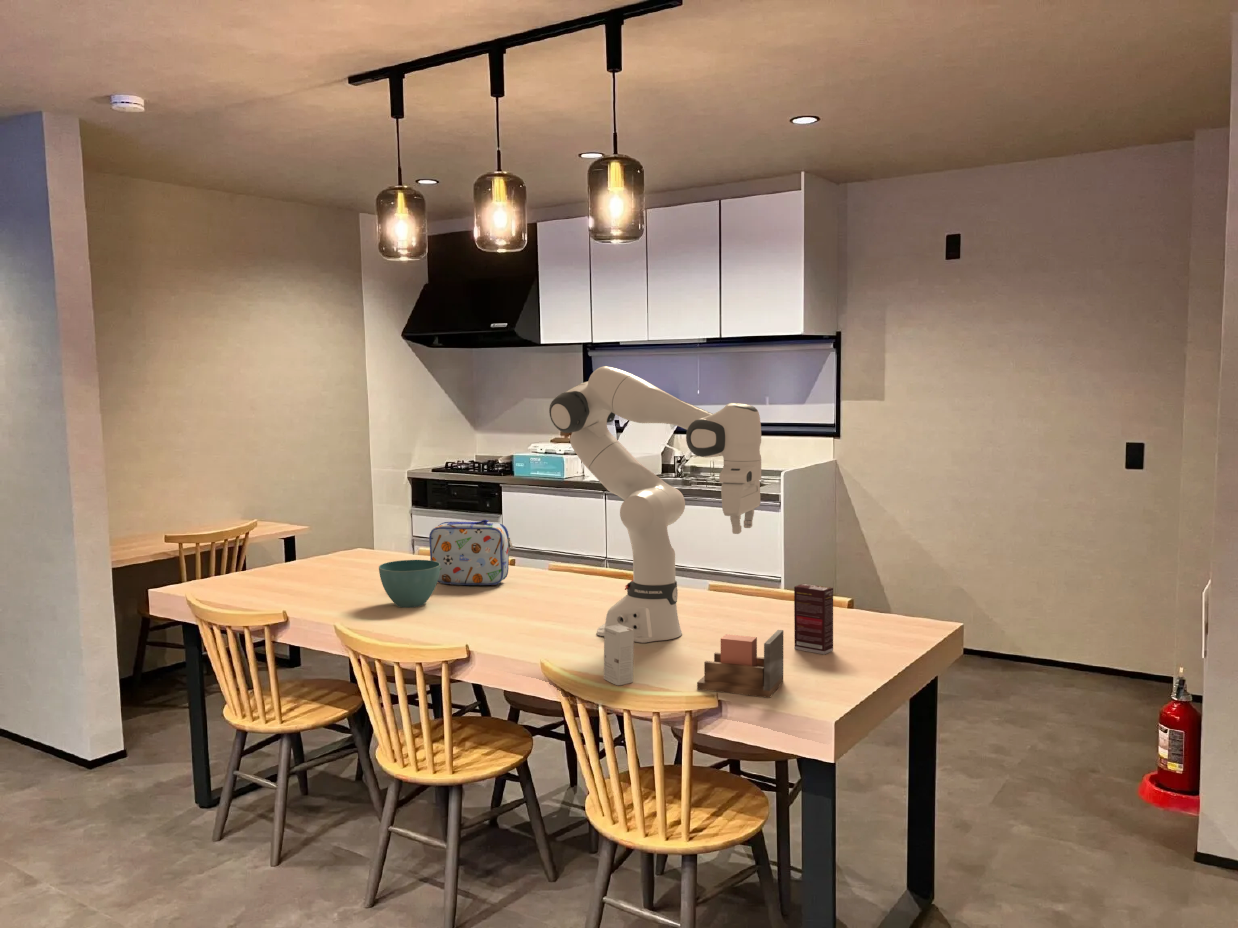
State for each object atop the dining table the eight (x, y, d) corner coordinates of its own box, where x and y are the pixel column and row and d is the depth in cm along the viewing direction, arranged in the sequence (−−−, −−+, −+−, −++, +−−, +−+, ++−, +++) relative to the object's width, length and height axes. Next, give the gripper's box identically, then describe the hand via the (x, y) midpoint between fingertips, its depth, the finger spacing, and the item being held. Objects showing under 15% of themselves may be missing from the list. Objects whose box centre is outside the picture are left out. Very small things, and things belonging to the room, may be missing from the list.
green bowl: (448, 598, 298) (447, 559, 297) (431, 612, 280) (429, 570, 279) (391, 597, 299) (390, 559, 298) (371, 611, 281) (369, 570, 280)
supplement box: (834, 650, 234) (834, 587, 233) (824, 655, 230) (824, 590, 229) (802, 644, 239) (803, 582, 238) (793, 649, 236) (793, 586, 234)
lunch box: (515, 581, 323) (514, 516, 321) (508, 587, 312) (506, 521, 310) (437, 579, 326) (435, 516, 324) (427, 586, 316) (425, 520, 314)
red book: (720, 678, 208) (720, 638, 207) (726, 673, 211) (726, 634, 211) (751, 682, 205) (751, 641, 204) (756, 677, 209) (756, 637, 208)
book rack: (697, 688, 206) (696, 636, 205) (714, 673, 217) (713, 623, 216) (769, 697, 200) (769, 643, 199) (783, 681, 211) (783, 630, 210)
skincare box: (602, 679, 213) (602, 626, 212) (619, 675, 216) (618, 623, 215) (618, 686, 208) (617, 632, 207) (635, 682, 211) (634, 628, 210)
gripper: (741, 468, 235) (741, 523, 236) (716, 475, 216) (716, 536, 217) (766, 468, 232) (766, 525, 233) (743, 476, 213) (743, 537, 214)
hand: (742, 530), depth 225 cm, fingers open, 8 cm apart
